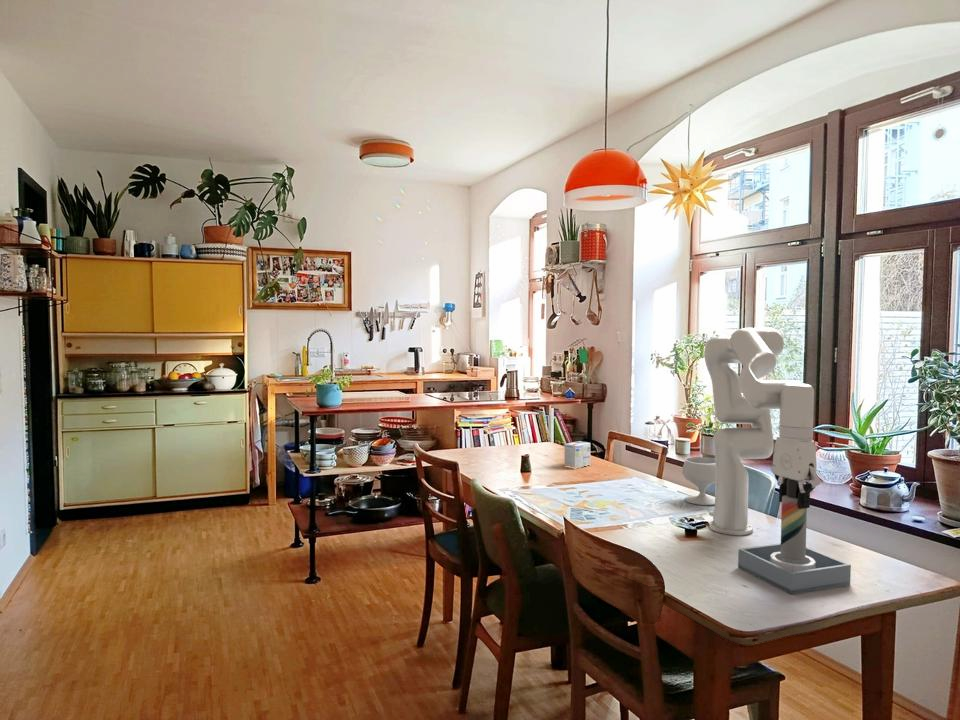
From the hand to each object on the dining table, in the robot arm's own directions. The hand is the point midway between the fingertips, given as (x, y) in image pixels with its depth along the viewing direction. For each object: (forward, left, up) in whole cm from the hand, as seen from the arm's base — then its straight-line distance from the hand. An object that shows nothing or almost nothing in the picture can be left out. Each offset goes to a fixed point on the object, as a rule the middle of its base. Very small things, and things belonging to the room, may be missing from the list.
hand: (794, 504), depth 163 cm
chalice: (-66, +23, -19) cm, 72 cm away
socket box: (0, 0, -18) cm, 18 cm away
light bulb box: (-132, +7, -19) cm, 134 cm away
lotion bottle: (0, 0, -14) cm, 14 cm away
